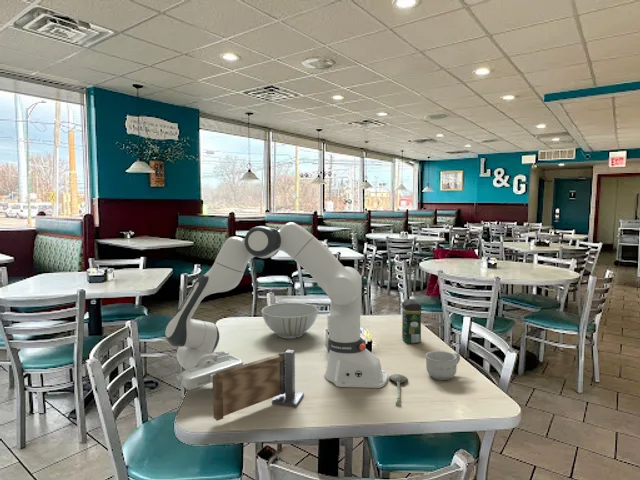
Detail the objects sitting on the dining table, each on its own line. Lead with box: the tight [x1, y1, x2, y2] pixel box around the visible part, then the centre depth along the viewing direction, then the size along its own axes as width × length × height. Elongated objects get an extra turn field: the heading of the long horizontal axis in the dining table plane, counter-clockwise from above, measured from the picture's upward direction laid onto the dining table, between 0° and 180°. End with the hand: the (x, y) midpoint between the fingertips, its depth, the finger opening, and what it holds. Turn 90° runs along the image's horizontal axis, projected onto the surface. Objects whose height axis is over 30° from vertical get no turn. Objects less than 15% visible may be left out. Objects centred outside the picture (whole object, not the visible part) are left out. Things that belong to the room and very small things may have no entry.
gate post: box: [271, 349, 305, 408], centre depth 131 cm, size 8×8×16 cm
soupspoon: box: [388, 373, 408, 406], centre depth 139 cm, size 22×3×7 cm
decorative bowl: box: [260, 302, 319, 339], centre depth 196 cm, size 27×27×12 cm
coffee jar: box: [401, 298, 422, 345], centre depth 187 cm, size 10×8×19 cm
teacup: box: [425, 350, 461, 381], centre depth 149 cm, size 14×11×8 cm
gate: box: [212, 351, 285, 422], centre depth 124 cm, size 24×2×13 cm, turn 131°
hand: (224, 380), depth 130 cm, fingers closed
